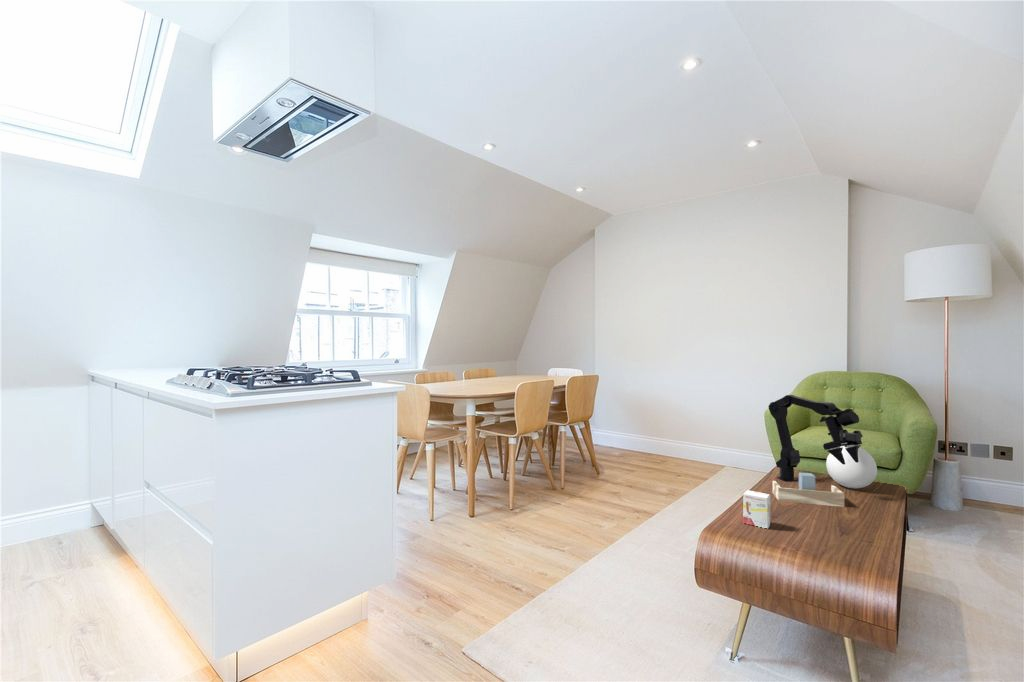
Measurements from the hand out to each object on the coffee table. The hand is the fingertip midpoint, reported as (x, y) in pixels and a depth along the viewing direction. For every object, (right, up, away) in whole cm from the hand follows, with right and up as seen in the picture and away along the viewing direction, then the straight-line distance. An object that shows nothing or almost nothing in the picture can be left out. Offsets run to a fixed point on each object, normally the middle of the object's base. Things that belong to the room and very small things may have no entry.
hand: (850, 463), depth 208 cm
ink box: (-59, -15, -31) cm, 68 cm away
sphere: (+11, -16, +15) cm, 25 cm away
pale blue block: (-22, -15, -4) cm, 27 cm away
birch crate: (-22, -15, -4) cm, 27 cm away
